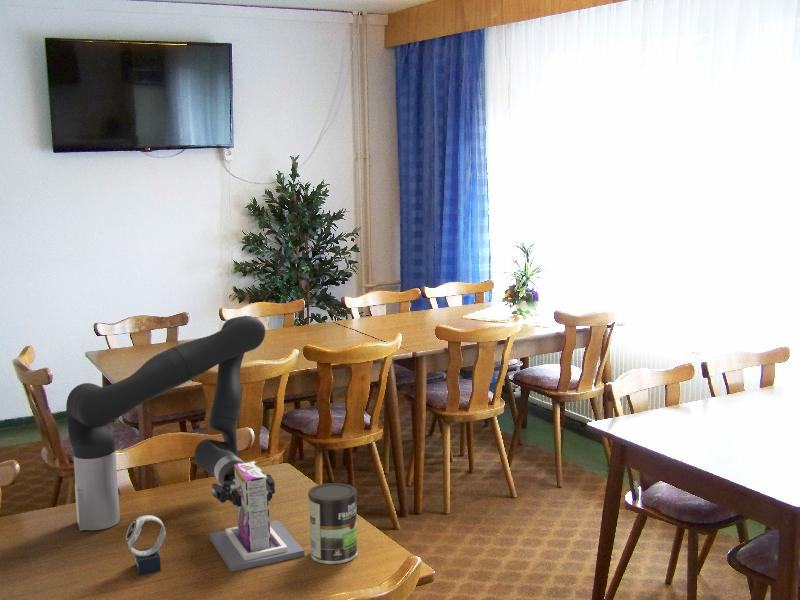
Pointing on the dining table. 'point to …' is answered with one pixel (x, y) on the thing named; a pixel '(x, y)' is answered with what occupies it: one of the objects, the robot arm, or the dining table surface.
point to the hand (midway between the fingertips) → (254, 499)
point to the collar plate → (242, 558)
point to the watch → (147, 557)
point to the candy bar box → (253, 506)
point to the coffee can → (333, 523)
